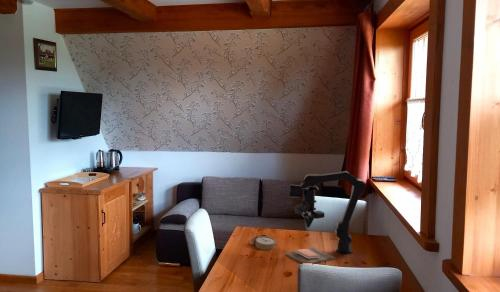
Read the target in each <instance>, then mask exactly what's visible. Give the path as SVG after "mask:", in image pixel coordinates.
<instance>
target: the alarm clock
mask: <svg viewBox="0 0 500 292" xmlns="http://www.w3.org/2000/svg"><path fill="white" fill-rule="evenodd" d="M251 244H252V245H253V246H255V247H256V248H257V249H260V250H265V251H267V250H274V249H276V247H277V246H278V244H277V239H275V238H273V237H271V236H267V235H266V234H260V235H255V236H253V237H252V238H251Z"/></svg>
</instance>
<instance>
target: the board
mask: <svg viewBox="0 0 500 292" xmlns="http://www.w3.org/2000/svg"><path fill="white" fill-rule="evenodd" d="M306 249H308V250H310V251H312V252H314V253H316V254H318V255H319V258H310V259H308V258H306V257H304V256H302V255H300V254H298V253H296V250H293V251H290V252H289V251H288V252H286V253H285V256H287V257H289V258H290V259H292V260H294V261H296V262H298V263H300V264H301V263H314V264H313V265H315V264H320V263H325V262H329V261H333V260H335V256H332V255H331V254H328V253H326V252H324V251H322V250H320V249H317V248H316V247H315V246H312V247H307V248H306Z"/></svg>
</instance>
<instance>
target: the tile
mask: <svg viewBox="0 0 500 292" xmlns="http://www.w3.org/2000/svg"><path fill="white" fill-rule="evenodd" d="M295 251H296V253H298V254H300V255H302V256H304V257H306V258H308V259H310V258H319V255H318V254H316V253H314V252H312V251H310V250H308V249H307V248H302V249H301V248H300V249H295Z"/></svg>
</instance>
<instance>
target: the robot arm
mask: <svg viewBox="0 0 500 292" xmlns="http://www.w3.org/2000/svg"><path fill="white" fill-rule="evenodd" d="M342 180H344V181H346V182H348V183H349V184H350V185H351V194H350V197H349V199H348V201H347V205H346V207H345V210H344V213H343V215H342V218H341V219H340V220H336V225H335V226H334V229H335V230H334V231H335V234H336V237H337V238H339V239H338V243H337V249H335V252H338V253H340V254H342V255H347V254H352V253H354V251H353V250H352V241H353V239H352V236H351V234H350V233H349V230H350V228H349V227H350V223H351V219H352V216H353V214H354V212H355V209H356V206H357V204H358V202H359V201H358V200H359V199H360V197H361V196H362V195H363V193H364V192H365V190H366V187H367V185H366V183H365V182H364V180H362V179H361V178H357V177H355V176H354V175H352V174H351V173H349V172H348V171H347V170H344V171H338V172H331V173H324V174H323V173H322V174H320V173H308V174H306V175H305V176H304V179H303V181H302V182H300V183H301V184H300V185H299V184H292V183H291V184H290V185H289V187H290V189H289V198H295V199H296V198H297V199H298V198H299V199H300V198H301V197H303V199H301V203H298V204H297V205H295V204H294V206H293V211H294V212H295V214H298V215H301V216H302V217H303V219H304V221H305V225H306V228H310V227H311V226H312V224H313V221H314V220H315V219H316V220H317V219H323V218H325V214H326V213H325V212H324V211H321V210H317V207H315V204H317V200H315V199H316V198H315V197H316V191H320V190H319V189H320V188H319V187H318V186H317V185H319V184H322V183H328V182H334V181H337V182H338V181H342Z"/></svg>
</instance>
